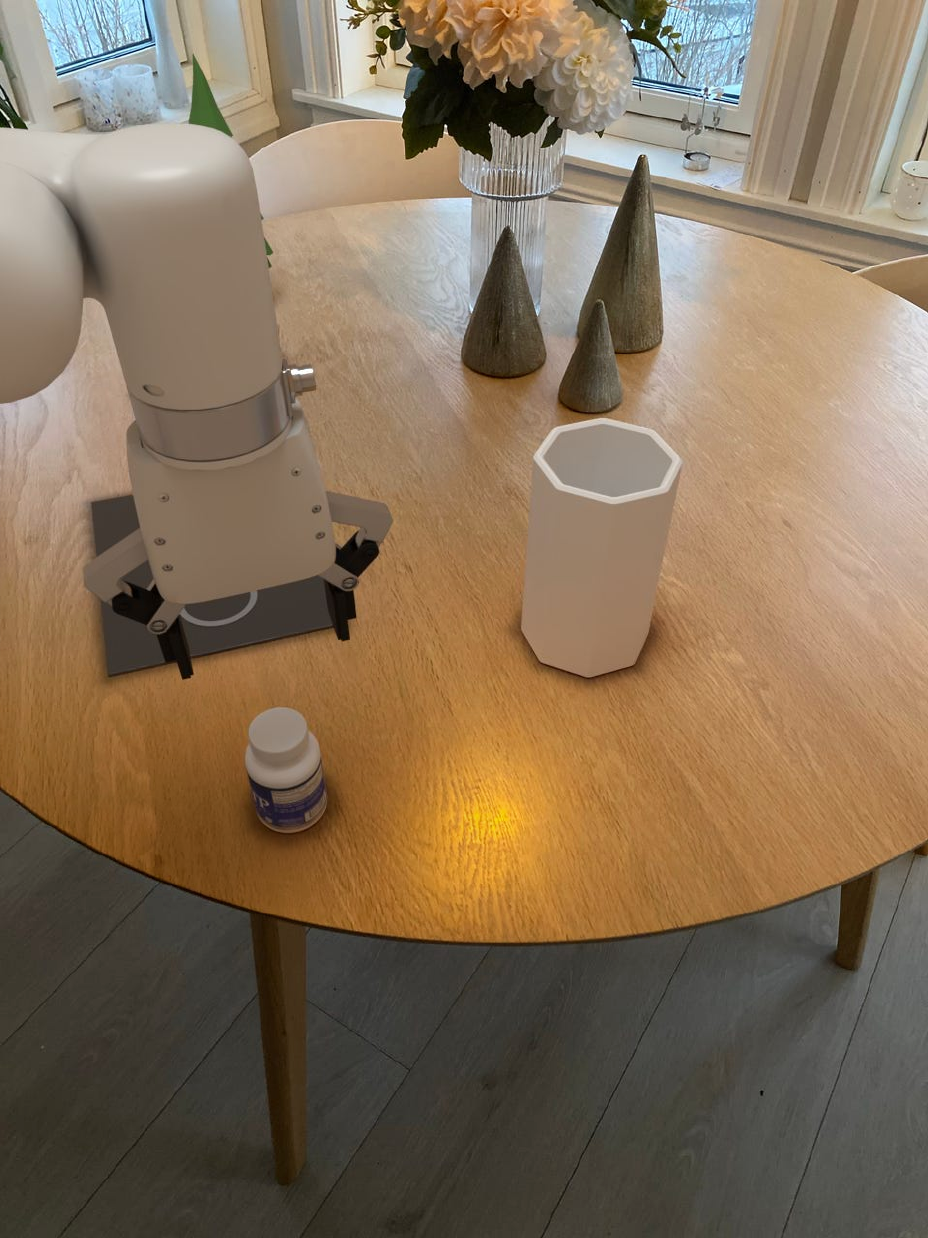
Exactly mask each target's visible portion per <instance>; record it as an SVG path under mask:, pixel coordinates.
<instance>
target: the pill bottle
mask: <svg viewBox="0 0 928 1238" xmlns="http://www.w3.org/2000/svg"><path fill="white" fill-rule="evenodd" d="M247 735H248V736H247V737H248V741H249V742H248V745H247V747H246V749H245V753H244V765H245V770H246V774H247V778H248V782H249V786H250V791H251V794H252V795H251V796H252V799H253V803H254V807H255V810H256V815H257V817H258V819H259V820H260V822H261V823H262V824H263V825H264V826H266V827H267V828H269V829H270V830H272V831H275V832H277V833H282V834H283V833H284V834H293V833H298V832H299V833H300V832H302V831H304V830H307V829H309V828H310V827H312V826H314V825H315V824H316V823H317V822H318V821H319V820H320V819H321V818H322V817H323V815H324V813H325V811H326V809H327V805H328V793H327V788H326V787H327V786H326V782H325V781H326V780H325V775H324V769H323V761H322V760H323V759H322V752H321V746H320V744H319V741H318V739H317V738H316V736H315V735H314V734H313V733H312V731H310V730H309V727H308V723H307V720H306V718H305V717H304V715H302V714H301V712H299V711H297V710H296V709H293V708H291V707H283V706H281V707H279V706H277V707H272V708H269V709H266V710H264V711H262V712H261V713H258V714H257V716H255V717H254V718H253V719H252V721H251V722H250V724H249V727H248V731H247Z"/></svg>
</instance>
